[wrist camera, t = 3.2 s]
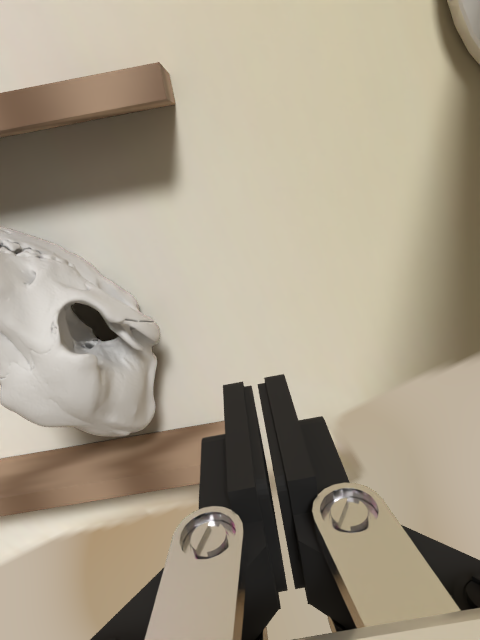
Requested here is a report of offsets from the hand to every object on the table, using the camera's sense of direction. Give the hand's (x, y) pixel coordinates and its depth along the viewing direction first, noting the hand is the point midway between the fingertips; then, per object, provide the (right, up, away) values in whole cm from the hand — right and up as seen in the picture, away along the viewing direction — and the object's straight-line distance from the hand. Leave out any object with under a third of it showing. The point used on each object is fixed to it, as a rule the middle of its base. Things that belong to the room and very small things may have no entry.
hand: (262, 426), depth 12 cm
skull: (-9, +4, +12) cm, 15 cm away
